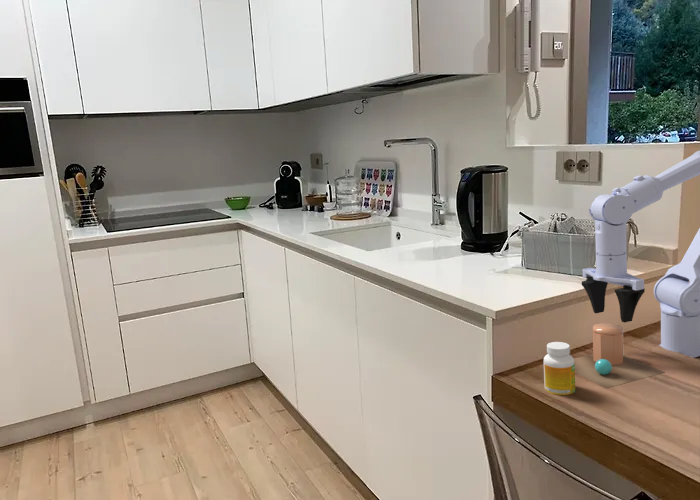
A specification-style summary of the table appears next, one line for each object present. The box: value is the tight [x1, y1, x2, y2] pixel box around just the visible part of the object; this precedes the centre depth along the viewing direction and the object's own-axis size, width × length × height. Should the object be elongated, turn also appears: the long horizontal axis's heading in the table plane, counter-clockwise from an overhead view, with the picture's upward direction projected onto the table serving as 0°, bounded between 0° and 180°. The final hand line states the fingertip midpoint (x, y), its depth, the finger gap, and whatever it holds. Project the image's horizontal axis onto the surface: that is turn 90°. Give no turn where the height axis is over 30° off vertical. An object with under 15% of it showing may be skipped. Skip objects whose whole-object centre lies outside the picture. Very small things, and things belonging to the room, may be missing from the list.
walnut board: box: [573, 353, 666, 389], centre depth 107 cm, size 14×14×1 cm
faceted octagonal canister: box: [592, 322, 624, 365], centre depth 110 cm, size 6×6×7 cm
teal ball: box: [595, 359, 612, 375], centre depth 104 cm, size 3×3×3 cm
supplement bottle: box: [543, 341, 576, 396], centre depth 99 cm, size 5×5×10 cm
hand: (612, 316), depth 112 cm, fingers open, 7 cm apart
